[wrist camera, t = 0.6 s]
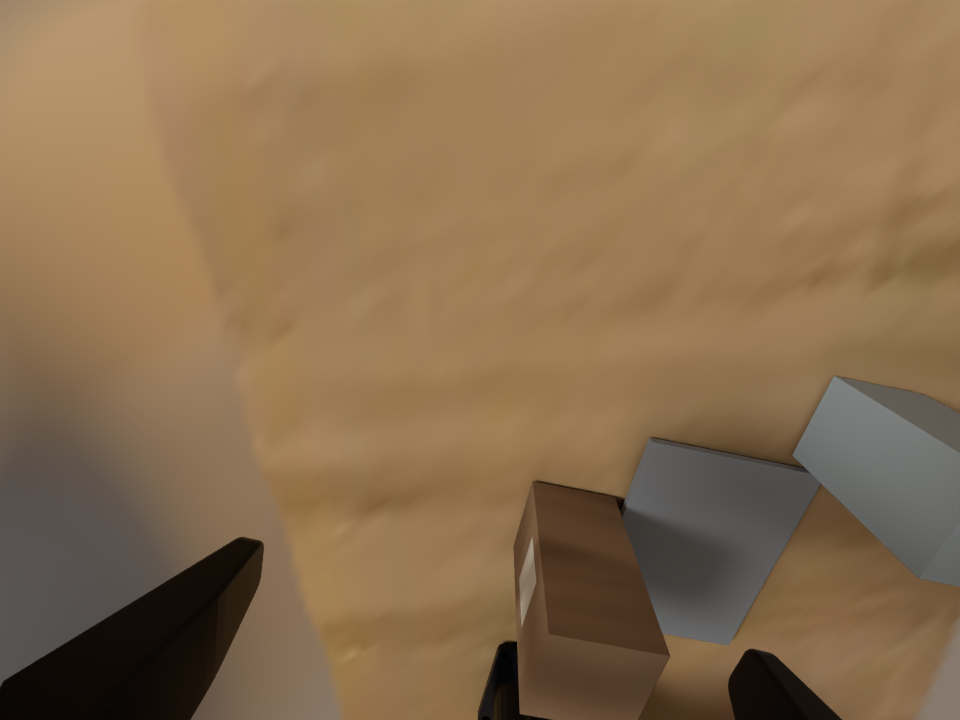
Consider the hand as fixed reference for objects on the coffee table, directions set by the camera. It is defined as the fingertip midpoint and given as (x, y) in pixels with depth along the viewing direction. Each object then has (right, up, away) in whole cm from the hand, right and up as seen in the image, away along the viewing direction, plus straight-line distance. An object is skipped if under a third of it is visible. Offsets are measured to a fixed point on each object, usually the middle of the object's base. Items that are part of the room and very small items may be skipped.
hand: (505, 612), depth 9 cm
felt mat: (+10, -5, +15) cm, 19 cm away
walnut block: (+4, -3, +15) cm, 16 cm away
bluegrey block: (+16, +2, +12) cm, 20 cm away
